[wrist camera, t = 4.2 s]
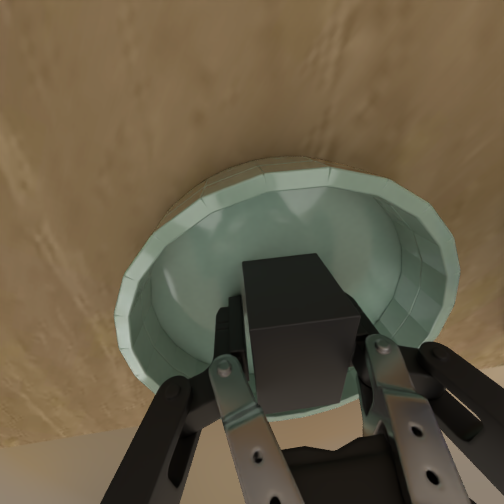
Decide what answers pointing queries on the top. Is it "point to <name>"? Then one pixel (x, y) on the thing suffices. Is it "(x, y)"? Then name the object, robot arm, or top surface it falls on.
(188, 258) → the bowl
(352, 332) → the block
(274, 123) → the top surface
